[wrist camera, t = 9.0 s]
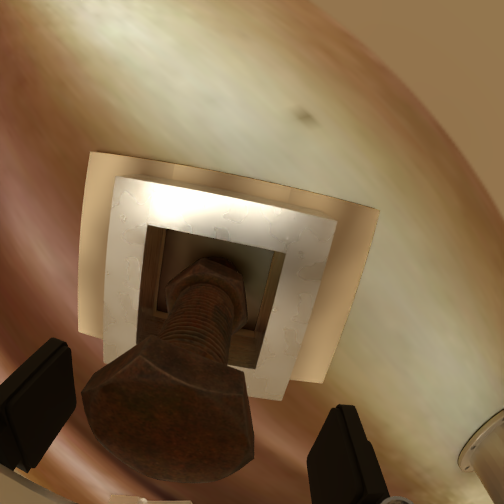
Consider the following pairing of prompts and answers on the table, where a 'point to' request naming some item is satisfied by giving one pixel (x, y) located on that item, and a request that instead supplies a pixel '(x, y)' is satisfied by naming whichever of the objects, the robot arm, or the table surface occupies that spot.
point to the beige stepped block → (140, 500)
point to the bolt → (180, 385)
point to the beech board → (332, 283)
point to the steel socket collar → (224, 228)
